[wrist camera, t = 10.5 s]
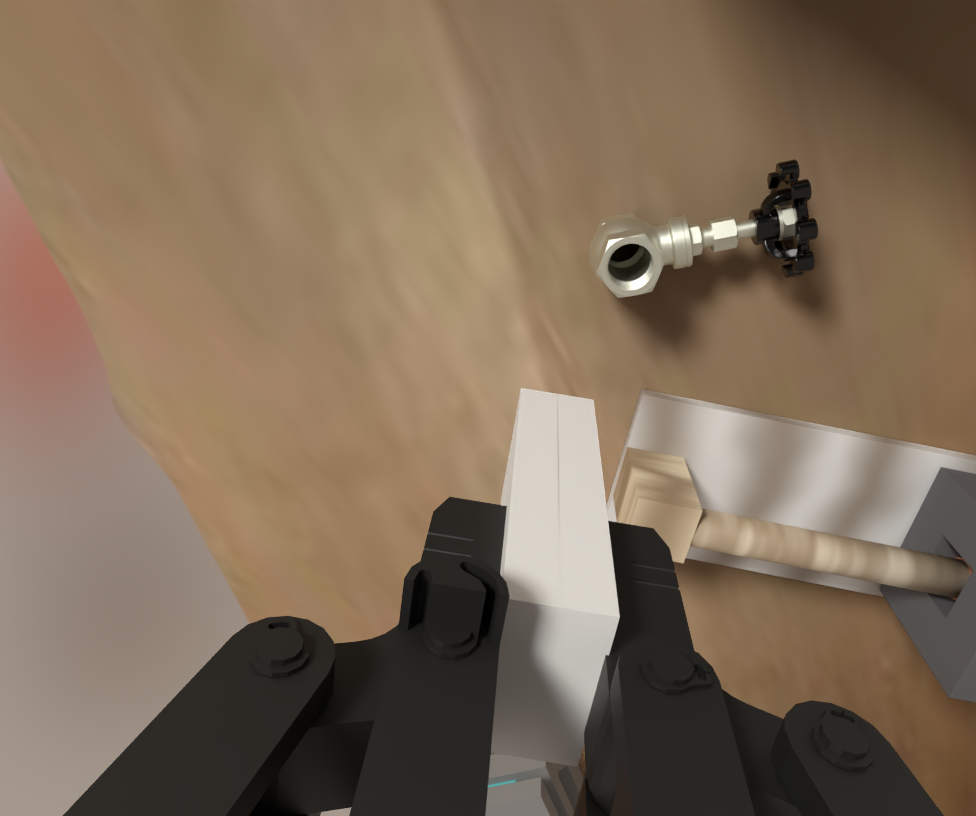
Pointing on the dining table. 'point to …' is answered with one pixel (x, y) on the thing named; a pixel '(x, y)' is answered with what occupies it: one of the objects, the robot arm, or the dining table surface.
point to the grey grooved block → (531, 787)
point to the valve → (708, 237)
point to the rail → (782, 495)
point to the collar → (934, 618)
